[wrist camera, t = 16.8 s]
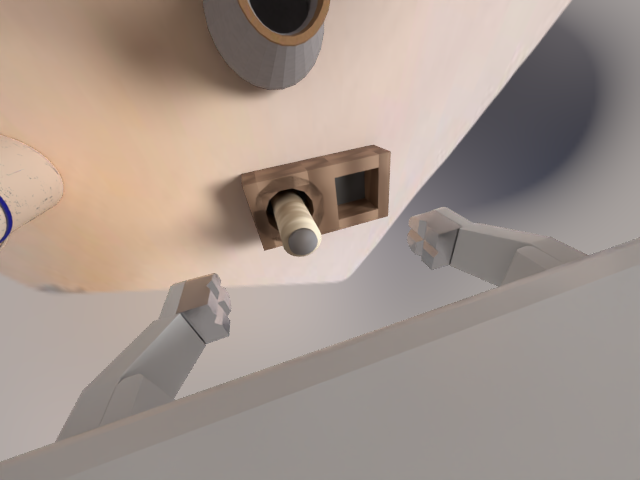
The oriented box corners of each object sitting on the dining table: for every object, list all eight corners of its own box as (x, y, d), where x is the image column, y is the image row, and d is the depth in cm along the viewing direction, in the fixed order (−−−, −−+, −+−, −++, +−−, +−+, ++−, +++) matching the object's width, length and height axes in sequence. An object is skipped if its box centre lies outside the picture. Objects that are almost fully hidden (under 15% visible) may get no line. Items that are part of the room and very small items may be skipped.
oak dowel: (296, 182, 34) (320, 220, 24) (301, 208, 37) (325, 253, 27) (267, 189, 34) (279, 231, 23) (274, 215, 36) (288, 264, 26)
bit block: (373, 144, 35) (390, 151, 31) (373, 203, 41) (387, 216, 37) (241, 173, 32) (242, 185, 28) (261, 233, 38) (264, 250, 34)
